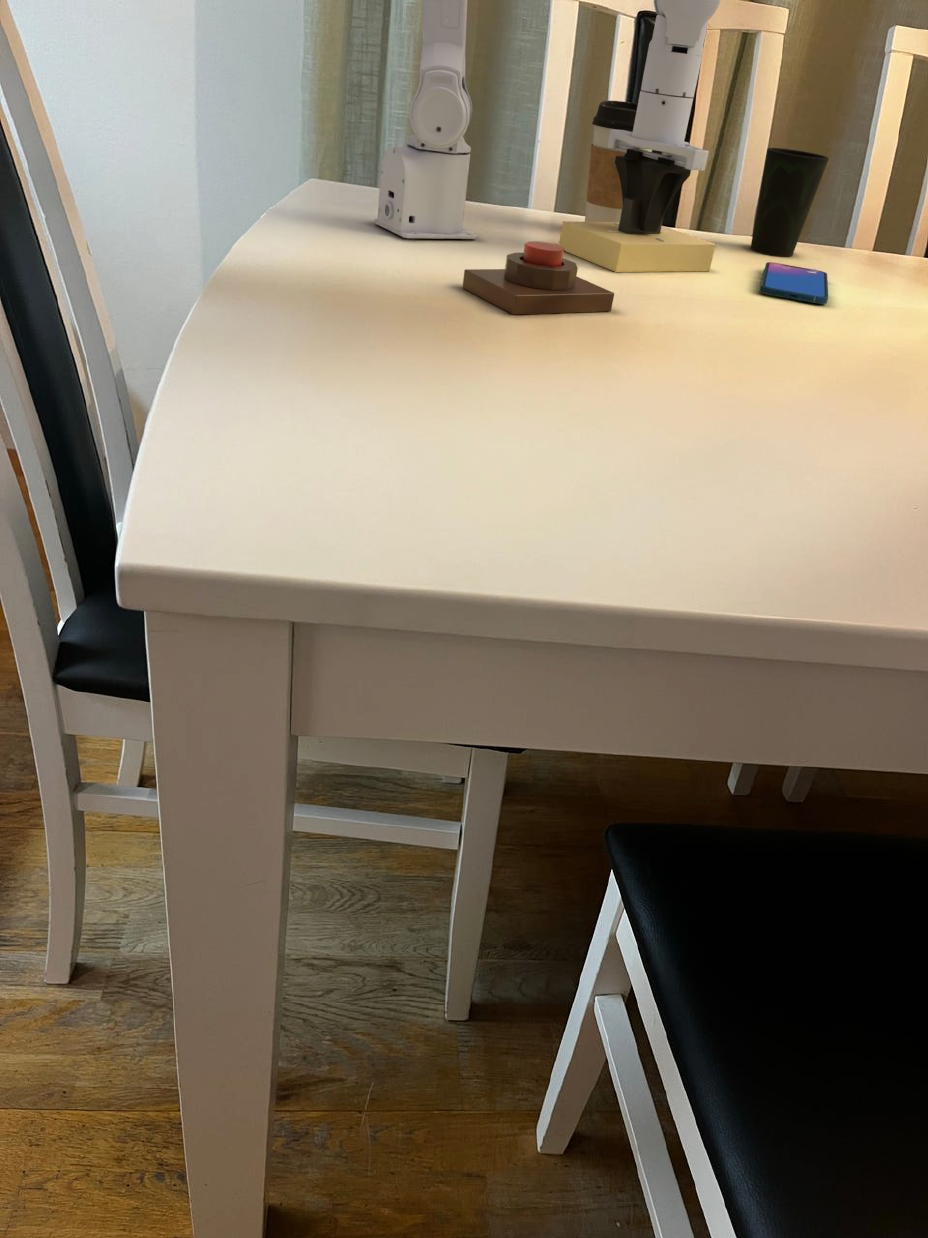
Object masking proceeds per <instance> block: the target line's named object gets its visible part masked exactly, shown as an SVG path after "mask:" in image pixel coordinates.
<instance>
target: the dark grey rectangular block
mask: <svg viewBox="0 0 928 1238" xmlns="http://www.w3.org/2000/svg"><path fill="white" fill-rule="evenodd" d="M642 203H643V198H624V202H623V207H622V212H621V218H620V223H619V228H618V230H619V231H621V232H624V233H633V234H660V231H661V226H663V221H664V218H663V219H662V221H661V223H660V225H659V228H658V230H657V232H645V231H641V230H640V216H641V209H642Z"/></svg>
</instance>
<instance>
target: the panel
mask: <svg viewBox="0 0 928 1238" xmlns="http://www.w3.org/2000/svg"><path fill="white" fill-rule="evenodd" d="M619 223H620V222H585V221H574V220H573V221H571V220H569V221H568V220H566V221H565V220H563V221H562V224H561V230H560V236H559V241H558V245H559V246H561V247H563V248H564V252H567V253H569V254H572V255H573V256H577V257H579V258H581V259H583V260H585V261H588V262H591V263H593V264H595V265H598V266H600V267H603V268H604V269H608V270H610V271H613V272H615V273H641V272H642V273H651V272H652V273H653V272H654V273H657V272H658V273H659V272H662V273H663V272H665V273H666V272H710V270H711V266H712V262H713V258H714V254H715V250H716V246H717V244H716V243H714V242H711V241H708V240H705V239H703V238H699V237H696V236H693V235H690V234H687V233H684V232H682V231H679V230H676V229H673V228H670V227H668V226H664V225H662V226H661V231H660V234H633V233H624V232H621V231H619V230H618V228H619Z"/></svg>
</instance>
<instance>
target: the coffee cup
mask: <svg viewBox="0 0 928 1238" xmlns="http://www.w3.org/2000/svg"><path fill="white" fill-rule="evenodd" d="M598 104H599V105H598V107H597V111H596V115H595V116H594V117H593V118H592V119H593V120H592V123H591V124H592V125H593V126H594V131H593V141H592V143H591V144H590V155H589V165H588V166H589V168H588V179H587V189H586V190H587V191H586V205H585V214H584V215H585V217H584V222H620V218H621V212H622V207H623V201H622V189H621V183H620V178H619V174H618V171H617V168H616V165H615V158H616V156H624V155H625V154H626V152H627V151H623V150H619V149H612V148H608V142H609V136H610V131H611V129H615V130H625V131H629V132H633V128H634V123H635V117H636V112H637V107H638V102H637V103H636V102H629V101H621V100H604V101H601V102H600V103H598ZM640 149H641V150H645V151H649V152H652V153H653V150H651V149H642V148H640Z"/></svg>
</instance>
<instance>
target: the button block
mask: <svg viewBox="0 0 928 1238" xmlns="http://www.w3.org/2000/svg"><path fill="white" fill-rule="evenodd" d="M523 254H524V252H512V253H509V254H506V260H505V265H504V268H483V269H482V268H480V269H478V268H476V269H475V268H473V269H471V268H470V269H467V268H466V269H463V270H464V272H463V279H462V289H464V290H465V291H468V292H470V293H472V294H473V295H475V296H478V297H479V298H481V299H482V300H485V301H486V302H488V303H490V304H493V305H494V306H496V307H498V308H500V309H501V310H504V311H506V312H508V313H510V314H511V315H513V316H515V315H518V316H519V315H541V314H542V315H545V314H546V315H548V314H570V313H571V314H572V313H573V314H574V313H575V314H576V313H600V312H611V311H612V307H613V302H614V298H615V292H613V291H610V290H609V289H607V288H604V287H602V286H600V285H597V284H595V283H593V282H591V281H588V280H586V279H583V278H581V277H579V276H578V271H579V270H578V269H579V268H578V267H579V266H578V265H577V263H576V262H574V261H571V260H569V259H567V258H564V257H563V258H562V265H561V267H548V266H540V265H534V264H530V263H526V262H524V261H523Z"/></svg>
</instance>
